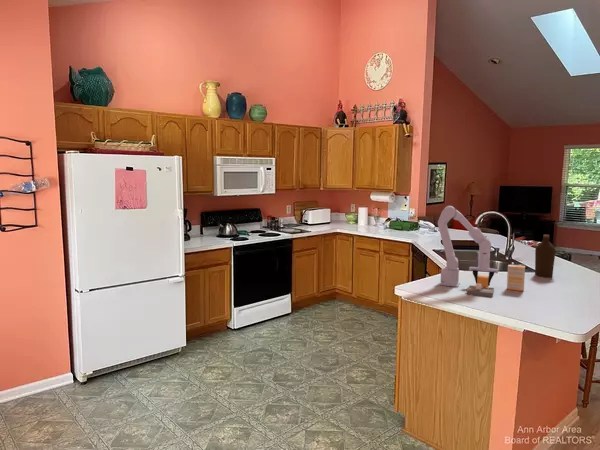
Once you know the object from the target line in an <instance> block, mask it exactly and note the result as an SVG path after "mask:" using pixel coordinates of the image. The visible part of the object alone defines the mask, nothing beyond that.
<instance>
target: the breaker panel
mask: <svg viewBox="0 0 600 450" xmlns="http://www.w3.org/2000/svg"><path fill="white" fill-rule="evenodd" d="M466 293H467V294H466V295H470V294H472V295H473V296H479V295H480V296H481V297H487V296H488V297H489V298H494V293H495V287H489V286H488V287H483V286H481V290H479V289H476V285H469V286H468V288H467V291H466ZM472 295H471V296H472ZM480 296H479V297H480Z"/></svg>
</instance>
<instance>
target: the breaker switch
mask: <svg viewBox="0 0 600 450" xmlns="http://www.w3.org/2000/svg"><path fill="white" fill-rule="evenodd" d="M475 286H476V289H479V290H481V284H479V283H476V282H475Z"/></svg>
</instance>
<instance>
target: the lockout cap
mask: <svg viewBox="0 0 600 450" xmlns="http://www.w3.org/2000/svg"><path fill="white" fill-rule="evenodd" d="M488 281H489V275H480V274H478V277H477V283H479V284H481V286H483V287H489V286H488Z"/></svg>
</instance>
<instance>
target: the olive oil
mask: <svg viewBox="0 0 600 450" xmlns="http://www.w3.org/2000/svg"><path fill="white" fill-rule="evenodd" d="M534 258H535V259H534V260H535V261H534V264H535V265H534V275H535V276H537V277H541V278H552V277H553V275H554V267H555V259H556V248H555V246H554V244H553V243H551V242H550V234H543V237H542V241H541V242H540V243H539V244H538V245H537V246H536V248H535V257H534Z"/></svg>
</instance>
